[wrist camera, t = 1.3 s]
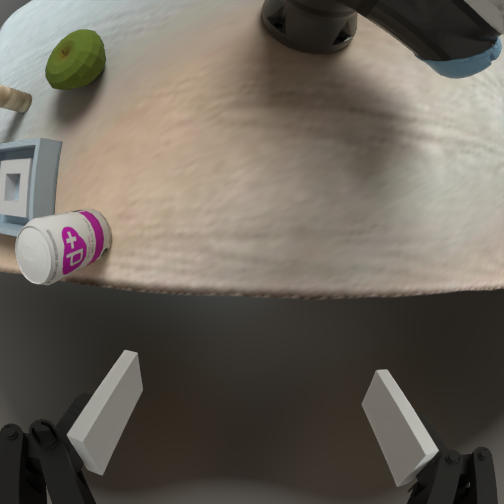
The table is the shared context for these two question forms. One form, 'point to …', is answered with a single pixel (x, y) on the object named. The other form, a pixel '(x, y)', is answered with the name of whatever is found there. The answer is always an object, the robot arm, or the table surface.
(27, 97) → the peg
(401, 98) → the table surface
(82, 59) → the apple
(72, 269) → the supplement can
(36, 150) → the crate
